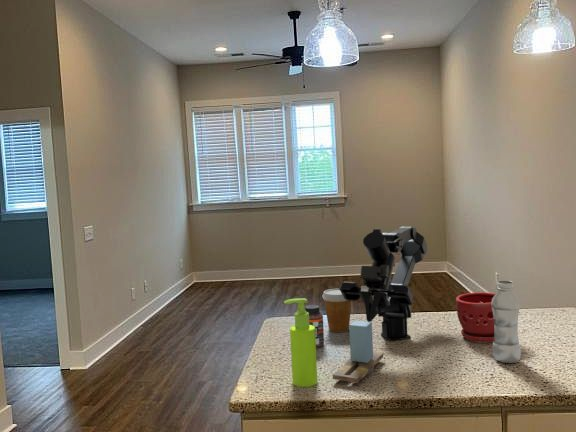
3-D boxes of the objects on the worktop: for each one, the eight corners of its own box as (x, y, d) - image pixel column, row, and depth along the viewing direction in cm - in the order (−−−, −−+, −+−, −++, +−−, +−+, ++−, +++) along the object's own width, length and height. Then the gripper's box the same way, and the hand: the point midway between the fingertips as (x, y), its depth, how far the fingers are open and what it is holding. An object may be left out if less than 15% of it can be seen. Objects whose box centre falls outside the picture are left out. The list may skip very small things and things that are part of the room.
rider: (356, 359, 132) (355, 320, 131) (373, 361, 130) (371, 322, 129) (350, 365, 129) (349, 324, 128) (367, 367, 127) (366, 326, 126)
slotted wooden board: (360, 357, 137) (360, 349, 137) (383, 361, 134) (383, 352, 134) (332, 383, 121) (332, 374, 121) (358, 387, 118) (357, 378, 118)
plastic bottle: (509, 368, 125) (507, 286, 123) (486, 360, 131) (484, 281, 129) (527, 362, 128) (525, 282, 126) (504, 354, 134) (502, 278, 132)
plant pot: (480, 328, 157) (479, 289, 156) (516, 340, 145) (515, 297, 144) (447, 336, 151) (446, 295, 150) (481, 349, 139) (480, 305, 138)
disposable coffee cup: (336, 323, 170) (335, 287, 169) (360, 328, 163) (358, 290, 162) (317, 330, 163) (315, 292, 162) (341, 335, 156) (339, 296, 155)
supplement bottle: (322, 348, 146) (321, 309, 145) (301, 348, 147) (299, 309, 146) (325, 342, 151) (323, 303, 151) (305, 341, 153) (303, 303, 152)
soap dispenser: (287, 378, 126) (283, 297, 124) (315, 376, 126) (311, 295, 125) (289, 388, 120) (284, 303, 118) (319, 385, 120) (315, 300, 119)
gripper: (340, 252, 141) (325, 301, 133) (408, 254, 132) (396, 307, 124) (352, 275, 149) (338, 323, 140) (417, 278, 140) (407, 330, 131)
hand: (368, 320), depth 133 cm, fingers closed
